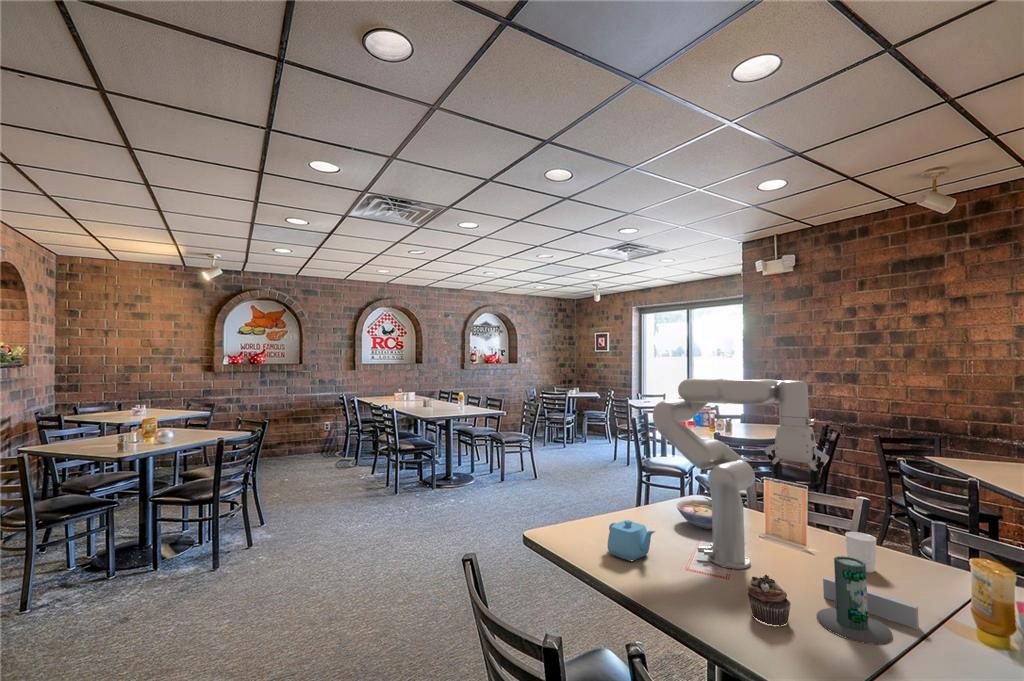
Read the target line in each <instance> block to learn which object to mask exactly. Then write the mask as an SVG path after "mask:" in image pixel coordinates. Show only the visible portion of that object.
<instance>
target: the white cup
mask: <svg viewBox="0 0 1024 681" xmlns="http://www.w3.org/2000/svg"><path fill="white" fill-rule="evenodd" d="M844 535H845V536H844V537H845V547H846V557H850V558H851V557H852V558H855V559H858V560H860V561H862V562H864V563H865V565H866V574H867V573H868V574H870V573H871V574H873V573H874V572H876V561H877V560H876V559H877V537H875V536H873V535H871V534H868V533H864V532H859V531H846V532H845V534H844Z"/></svg>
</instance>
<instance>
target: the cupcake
mask: <svg viewBox="0 0 1024 681" xmlns="http://www.w3.org/2000/svg"><path fill="white" fill-rule="evenodd" d="M747 591H748V592H747V597H748V602H749V605H750V610H751V613H752V614H753V615H752V614H751V615H752V617H753V616H754V617H755V618H757V619H758V620H760V621H762V622H765V623H767V624H772V625H779V626H781V625H784V624H786V623H787V622H789V617H790V610H791V604H792V603H791V601H790V600H789V599H788V598H787V597H788V593H787V591H785V590H784V589H783V588H782V587H781V586H780V585H779V584H778V582H776V581H775V579H773V578H770V576H769V575H767V574H765V575H763V576H762V577H760V576H759V577H757V576H752V577H751V580H750V583H749V585H748V586H747ZM754 617H753V618H754ZM787 624H788V623H787Z"/></svg>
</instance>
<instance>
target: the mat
mask: <svg viewBox="0 0 1024 681" xmlns="http://www.w3.org/2000/svg"><path fill="white" fill-rule="evenodd" d="M816 619H818V620H819V622H820V623H821V624H822V625H823V626H824V627H823V626H822V625H821V624H820V623H819V622H818V623H819V624H820V625H821V626H822V627H823V628H825V627H826V628H827V629H826V628H825V629H826V630H828V629H829V630H831V631H832V632H831V631H830V632H831V633H833V632H834V633H833V634H835V633H837V634H839V635H841V636H843V637H842V638H844V637H846V638H845V639H847V638H848V639H847V640H850V639H851V640H850V641H853V640H854V641H853V642H857V641H858V643H861V642H864V643H863V644H867V643H874V644H873V645H883V644H882V643H884V644H887V643H886V642H888V641H890V640H891V639H892V640H893V633H892V631H891V629H890V628H889V627H888V626H887V625H886V624H884V623H882V622H881V621H880V620H877V619H876V618H874V617H872V616H870V615H868V629H866V630H861V631H860V630H854V629H852V628H851V629H850V628H847V627H845V626H843V625H841V624H840V623H838V622H837V620H836V607H826V608H823V609H820V610H818V611H817V613H816ZM818 620H817V621H818ZM829 630H828V631H829ZM837 634H836V635H837ZM839 635H838V636H839ZM841 636H840V637H841ZM892 640H891V641H892ZM891 641H890V642H891ZM879 643H881V644H879ZM888 643H889V642H888Z"/></svg>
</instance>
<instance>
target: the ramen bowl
mask: <svg viewBox="0 0 1024 681" xmlns="http://www.w3.org/2000/svg"><path fill="white" fill-rule="evenodd" d="M675 506H676V508H677V510H678V512H679V513H680V515H681V516H682V517H683V519H684V520H686V522H688V523H690V524H692V525H694V526H697V527H698V528H700V529H705V530H712V500H711V499H710V498H707V497H704V499H683V500H681V501H678V502H677V503H676V504H675Z"/></svg>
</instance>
